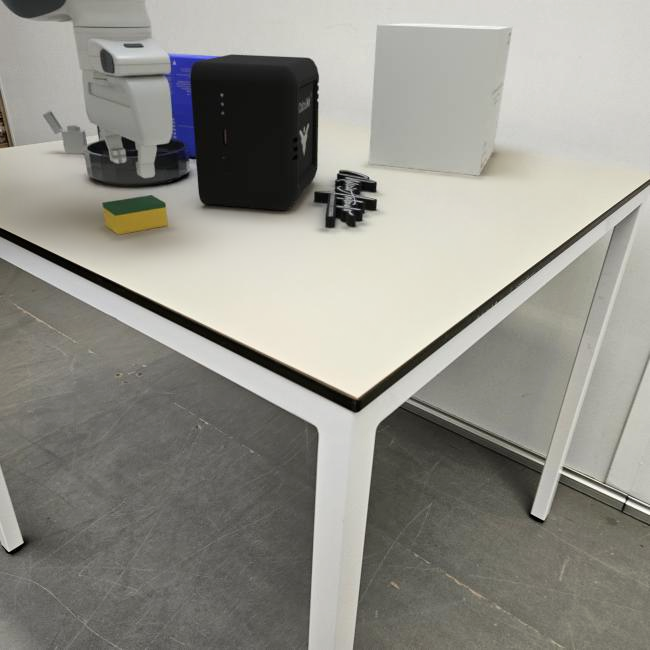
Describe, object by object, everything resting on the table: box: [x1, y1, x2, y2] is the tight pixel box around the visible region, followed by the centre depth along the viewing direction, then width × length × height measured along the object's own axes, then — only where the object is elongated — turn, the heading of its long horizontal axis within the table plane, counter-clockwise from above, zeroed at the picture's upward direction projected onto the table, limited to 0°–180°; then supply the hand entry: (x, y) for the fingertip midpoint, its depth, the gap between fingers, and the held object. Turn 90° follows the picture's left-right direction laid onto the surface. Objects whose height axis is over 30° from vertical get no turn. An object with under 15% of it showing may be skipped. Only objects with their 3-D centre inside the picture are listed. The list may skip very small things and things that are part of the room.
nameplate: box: [313, 169, 378, 229], centre depth 95 cm, size 27×2×10 cm
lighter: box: [42, 110, 88, 155], centre depth 119 cm, size 7×2×8 cm, turn 96°
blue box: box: [163, 52, 222, 159], centre depth 119 cm, size 39×8×18 cm, turn 63°
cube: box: [368, 22, 513, 176], centre depth 120 cm, size 25×21×24 cm
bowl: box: [83, 137, 191, 187], centre depth 105 cm, size 17×17×5 cm
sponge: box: [101, 194, 168, 236], centre depth 82 cm, size 7×5×3 cm, turn 127°
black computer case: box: [190, 53, 320, 211], centre depth 93 cm, size 20×15×20 cm
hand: (132, 169), depth 79 cm, fingers open, 8 cm apart
